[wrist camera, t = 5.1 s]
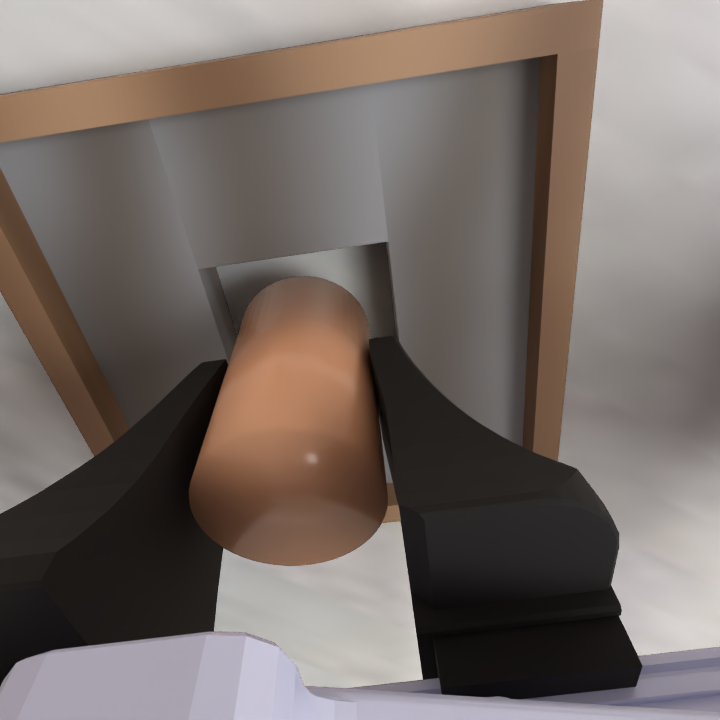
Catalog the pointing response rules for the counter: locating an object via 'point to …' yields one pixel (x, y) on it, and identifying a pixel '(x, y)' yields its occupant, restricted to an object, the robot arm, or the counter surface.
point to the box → (311, 208)
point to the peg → (294, 432)
